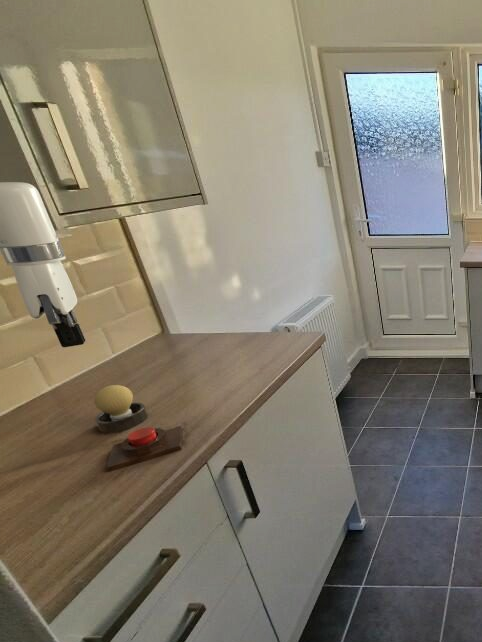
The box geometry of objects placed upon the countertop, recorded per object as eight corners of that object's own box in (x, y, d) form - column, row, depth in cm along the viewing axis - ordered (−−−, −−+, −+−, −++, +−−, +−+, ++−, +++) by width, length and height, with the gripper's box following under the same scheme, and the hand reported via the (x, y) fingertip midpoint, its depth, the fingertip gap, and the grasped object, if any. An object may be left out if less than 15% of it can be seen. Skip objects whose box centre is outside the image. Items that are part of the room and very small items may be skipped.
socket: (99, 442, 93) (91, 427, 91) (105, 424, 99) (99, 410, 97) (148, 429, 97) (142, 414, 95) (151, 412, 104) (145, 398, 102)
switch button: (129, 449, 86) (126, 442, 86) (132, 438, 90) (129, 431, 89) (156, 441, 89) (153, 434, 88) (157, 431, 92) (155, 424, 91)
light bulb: (116, 434, 94) (98, 397, 90) (101, 427, 96) (83, 390, 92) (148, 419, 99) (133, 383, 95) (133, 413, 102) (118, 378, 98)
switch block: (108, 472, 84) (102, 460, 82) (115, 449, 90) (109, 438, 89) (181, 450, 90) (177, 438, 89) (183, 429, 97) (178, 419, 95)
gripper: (18, 249, 80) (58, 336, 87) (-13, 263, 68) (36, 363, 76) (72, 245, 84) (106, 329, 91) (51, 258, 72) (91, 353, 79)
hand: (74, 344), depth 83 cm, fingers closed
